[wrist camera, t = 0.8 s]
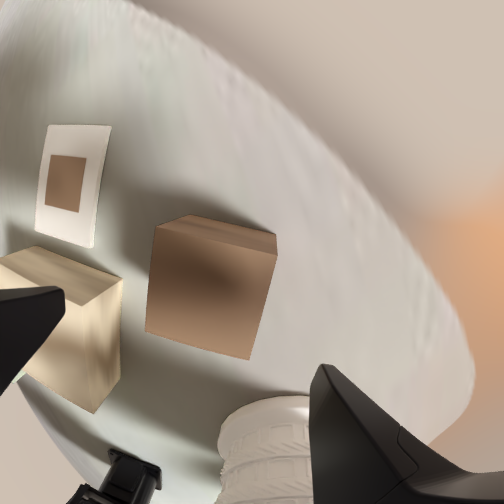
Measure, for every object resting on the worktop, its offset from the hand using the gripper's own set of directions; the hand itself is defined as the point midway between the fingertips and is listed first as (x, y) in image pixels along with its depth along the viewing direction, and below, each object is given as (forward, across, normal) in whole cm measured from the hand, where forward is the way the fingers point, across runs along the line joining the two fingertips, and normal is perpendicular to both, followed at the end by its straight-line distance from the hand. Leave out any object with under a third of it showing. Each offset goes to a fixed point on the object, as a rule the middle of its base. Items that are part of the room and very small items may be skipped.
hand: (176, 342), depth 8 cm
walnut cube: (+8, 0, 0) cm, 8 cm away
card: (+8, +12, -3) cm, 15 cm away
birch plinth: (+9, +11, +7) cm, 16 cm away
